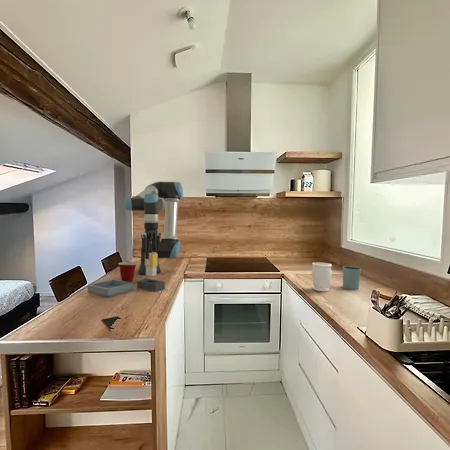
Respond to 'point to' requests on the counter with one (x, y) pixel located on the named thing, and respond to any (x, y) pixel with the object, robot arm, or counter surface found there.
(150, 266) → the block
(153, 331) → the counter surface
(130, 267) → the plastic cup
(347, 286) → the teal tapered cup
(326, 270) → the jar
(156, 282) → the block
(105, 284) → the parts tray
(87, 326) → the counter surface
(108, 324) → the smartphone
